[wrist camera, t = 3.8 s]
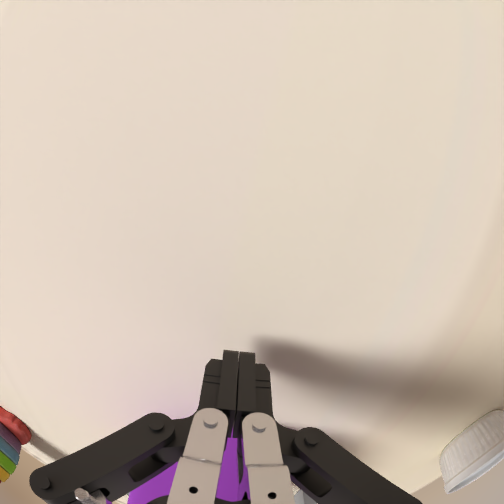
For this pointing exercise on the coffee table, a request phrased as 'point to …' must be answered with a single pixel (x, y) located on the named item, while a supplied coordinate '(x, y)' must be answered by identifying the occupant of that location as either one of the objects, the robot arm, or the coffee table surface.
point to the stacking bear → (11, 442)
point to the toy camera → (165, 479)
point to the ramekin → (473, 451)
